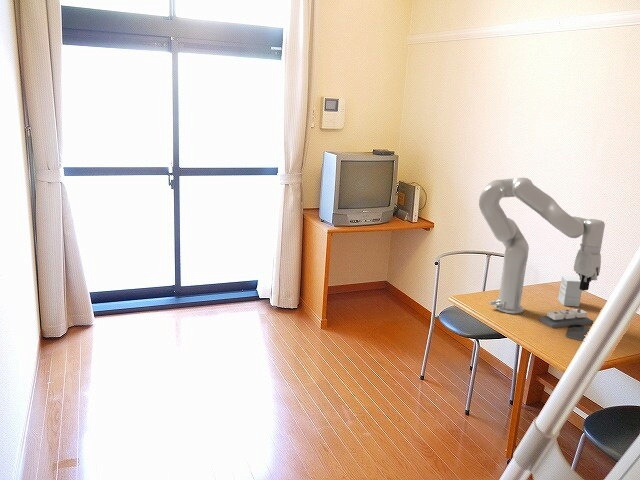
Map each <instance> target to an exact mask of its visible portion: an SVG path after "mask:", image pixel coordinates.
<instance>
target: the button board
mask: <svg viewBox="0 0 640 480" xmlns="http://www.w3.org/2000/svg"><path fill="white" fill-rule="evenodd" d="M538 321H539V322H542V323H544V324H545V325H546V326H548V327H550V328H551V329H553V328H554V329H555V328H564V327H566V328H567V327H569V326H570V325H577V324H578V325H582V326H586V325H593V323H594V320H593V319H592V318H589V317H588V316H587V317H580V318H577V317H576V316H575V318H570V319H566V318H564V319H559V320H554V319H552V318H550V317H548V316H547V315H546V316H539V319H538Z"/></svg>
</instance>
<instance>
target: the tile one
mask: <svg viewBox="0 0 640 480" xmlns="http://www.w3.org/2000/svg"><path fill="white" fill-rule="evenodd" d="M546 316H548V317H550V318H552V319H554V320H559V319H564V314H562V313H560V312H559V310H550V311H549V310H547V313H546Z"/></svg>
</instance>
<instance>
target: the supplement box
mask: <svg viewBox="0 0 640 480" xmlns="http://www.w3.org/2000/svg"><path fill="white" fill-rule="evenodd" d="M580 282H581V280H580V277H578V276H573V275H561V279H560V287H559V291H558V292H559V293H558V298H557V301H558V302H560V304H561V305H562V306H563V307H565V306H566V307H580V302H581V299H582V298H581V297H582V292H583V291H582V290H580V289H579V288H580Z"/></svg>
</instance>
